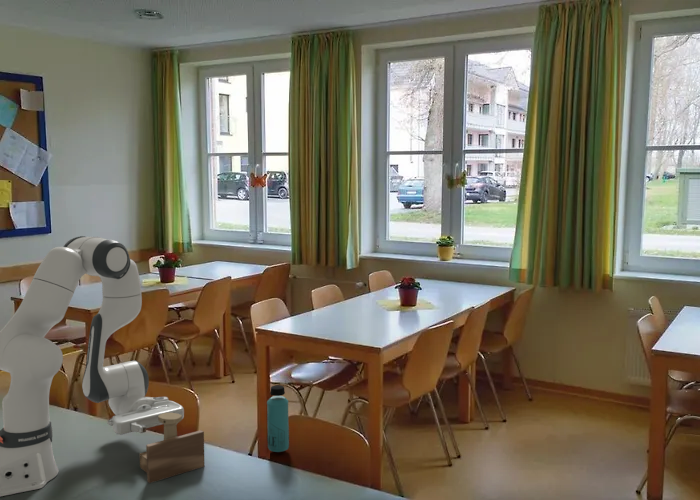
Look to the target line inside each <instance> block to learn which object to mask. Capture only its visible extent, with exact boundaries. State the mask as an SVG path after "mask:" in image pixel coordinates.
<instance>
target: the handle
mask: <svg viewBox="0 0 700 500" xmlns="http://www.w3.org/2000/svg"><path fill="white" fill-rule="evenodd" d="M182 420H183V419H182V415H180V414H177V413H163V414H160V415H159V416H158V421H159V422H161V423H162V425H163V440H166V439H170V438H174V437H178V431H177V428H178V427H177V425H178V424H177V423H180V422H182Z"/></svg>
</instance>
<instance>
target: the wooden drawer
mask: <svg viewBox="0 0 700 500" xmlns="http://www.w3.org/2000/svg"><path fill="white" fill-rule="evenodd" d="M145 448H146V449H145V452H144V451H143V452H140V453H139V467H140V469H141V470H143V471H144V472H145V473H146V477H147V482H148V483H149V484H151V483H155V482H158V481H161V480H165V479H168V478H171V477H175V476H177V475H178V476H179V475H181V474H185V473H188V472H191V471H194V470H197V469H201V468H204V467H205V431H203V430H201V429H200V430H197V431H192V432H189V433H186V434H183V435H179V436H178V435H177V437H174V438H170V439H166V440H164V439H162V440H159V441H155V442H152V443H148V444H146V446H145Z"/></svg>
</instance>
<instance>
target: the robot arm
mask: <svg viewBox="0 0 700 500" xmlns="http://www.w3.org/2000/svg"><path fill="white" fill-rule="evenodd" d="M138 269H139V268H138V266H137V263H136V262H135V261H134V260H133V259H131V258H130V254H129V251H128V249H127V248H126V246H125V245H124V244H123V243H121V242H119V241H117V240H115V239H108V238H107V239H106V238H103V237H99V236H83V235H81V236H76V237H73V238H71V239H69V240H67V241H66V242H65V244H64V245H63V246H56V247H53V248H51V249H50V250H49V251H48V252H47V253H46V255H45V256H44V258H43V259H42V261H41V263H40V264H39V265H38V267H37V270H36V272H35V274H34V275H33V278H32V280H31V282H30V284H29V286H28V289H27V291H26V293H25V294H24V297H23V299H22V301H21V303H20V305H19V306H18V307H17V310H16V311H15V312H14V314H13V315H12V317H10V319H9V320H8V321H7V323H6V324H5V325H4V327H2V328H1V330H0V371H3V372H6V373H9V375H10V384H9V389H8V392H7V393H6V394H5V395H4V396H3V398H2V402H1V404H2V405H1V406H2V421H3V428H1V429H0V497H3V496H9V495H14V494H19V493H23V492H24V493H25V492H29V491H33V490H38V489H42V488H44V487H45V486H46V485H47V483H48V482H49V481H51V480H53V479H54V478H56V476H57V475H58V474H59V468H58V465H57V462H56V460H55V456H54V451H53V450H54V449H53V444H52V443H53V426H52V422H51V421H50V390H51V385H52V382H53V378H54V376H55V375H57V373H58V372H59V371H60V369H61V368H62V366H63V361H64V355H63V351H62V350H61V348H60V347H59V346H58V345H57V344H56V343H54V342H53V341H52V340H50V339H48V338H46V336H47V334H48V333H49V331H50V330H51V329H52V328H53V327H54V326H55V325H57V324H59V323H60V322H61V321H62V320H63V319H64V317H65V315H66V312H67V310H68V308H69V306H70V303H71V302H72V301H71V300H72V299H73V297H74V294H75V291H76V289H77V286H78V284H79V281H80V280H81V278H82V277H83V276H84V275H88V276H91V277H92V276H93V277H99V279H100V281H101V284H102V287H101V289H102V290H101V291H102V301H101V306H100V309H99V310H98V313H97V314H95V315H94V316H93V317H92V320H91V324H90V327H89V328H90V329H89V335H88V344H87V352H86V353H87V354H86V361H85V369H84V373H83V378H82V386H81V387H82V392H83V393H82V394H83V395H84V397H85V399H87V400H88V401H91V402H93V403H97V404H99V403H102V402H104V401H108V405H109V408H110V410H111V411H112V413H113V414H114V415H113V416H112V417H111V418H110V419H107V421H106V423H107V425H108V426H112V430H113V431H114V432H115V434H116V435H125V434H129V433H134V432H136V433H140V434H143V433H146V432H147V430H146V429H149V428H153V427H158V426H161V425H163V424H162V423H161V422H159V421H158V416H159V415H160V414H163V413H177V414H180V415H182V420H183V419H184V417H185V409H184V407H183V405H181V404H179V403H178V402H175V401H173V400H169V397H168V396H158V397H157V396H156V397H155V396H154V397H153V396H152V397H151V396H146V395H147V393H148V390H149V384H150V383H149V381H150V380H149V379H150V378H149V374H148V371H147V369H146V368H145V367H144V365H142V364H141V363H140V362H139V361H137V360H135V359H134V360H130V361H125V362H120V363H116V364H112V365H111V364H110V365H107V366H104V360H105V354H106V353H105V351H106V345H107V340H108V339H109V338H110V337H111V335H113V334H114V333H115V332H116V331H118V330H119V329H121V328H124V327H125V326H127V325H129V324H131V322H133V321H134V320H135V319H136V318H137V317H138V315H139V314H140V312H141V311H142V307H143V306H142V305H143V303H142V302H143V301H142V300H143V297H142V296H143V295H142V285H141V284H142V283H141V279H140V274H139V270H138ZM177 425H178V423H177Z"/></svg>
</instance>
